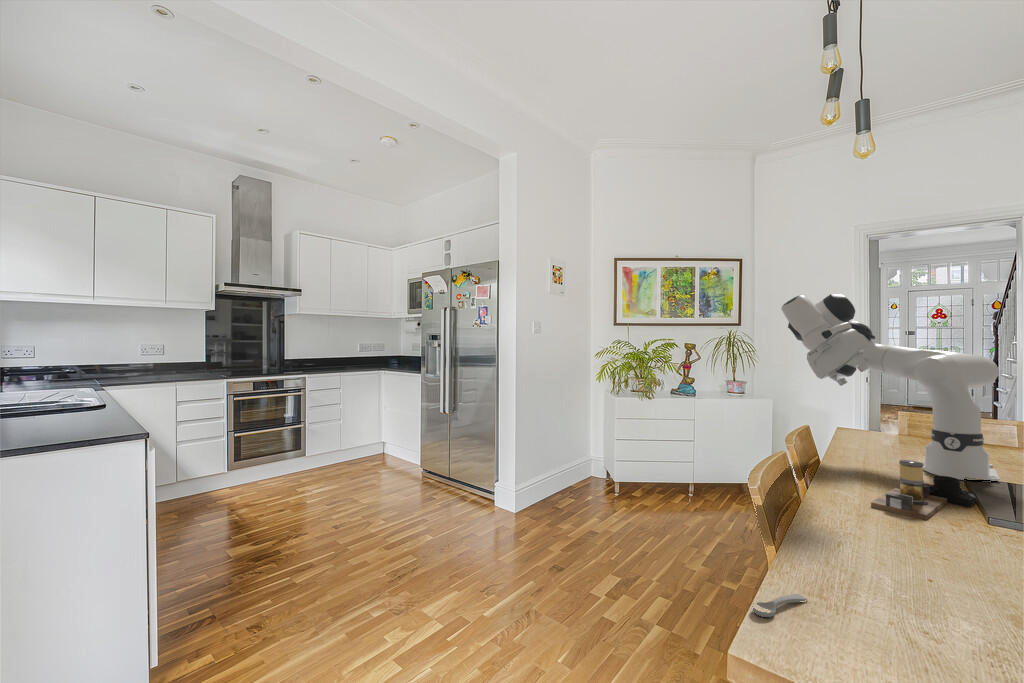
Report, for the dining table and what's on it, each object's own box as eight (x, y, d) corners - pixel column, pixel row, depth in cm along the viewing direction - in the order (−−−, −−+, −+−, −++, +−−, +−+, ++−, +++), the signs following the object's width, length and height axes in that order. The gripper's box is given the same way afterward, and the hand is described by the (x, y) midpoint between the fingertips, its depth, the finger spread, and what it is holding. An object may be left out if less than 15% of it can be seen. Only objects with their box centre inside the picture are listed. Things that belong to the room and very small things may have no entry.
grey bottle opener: (746, 613, 73) (747, 600, 73) (793, 600, 78) (794, 588, 78) (763, 623, 70) (764, 610, 70) (811, 609, 75) (812, 597, 75)
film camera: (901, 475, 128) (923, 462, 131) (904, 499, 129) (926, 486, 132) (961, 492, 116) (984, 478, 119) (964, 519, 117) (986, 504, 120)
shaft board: (895, 492, 130) (894, 478, 130) (947, 502, 121) (947, 488, 121) (870, 506, 118) (870, 491, 119) (926, 520, 110) (926, 503, 110)
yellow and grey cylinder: (902, 495, 123) (902, 459, 123) (926, 500, 119) (925, 462, 119) (897, 499, 120) (896, 461, 120) (920, 504, 116) (920, 465, 116)
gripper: (796, 358, 149) (824, 394, 142) (834, 325, 131) (868, 365, 125) (812, 352, 150) (841, 388, 143) (852, 319, 132) (887, 358, 126)
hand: (854, 377), depth 134 cm, fingers open, 8 cm apart
